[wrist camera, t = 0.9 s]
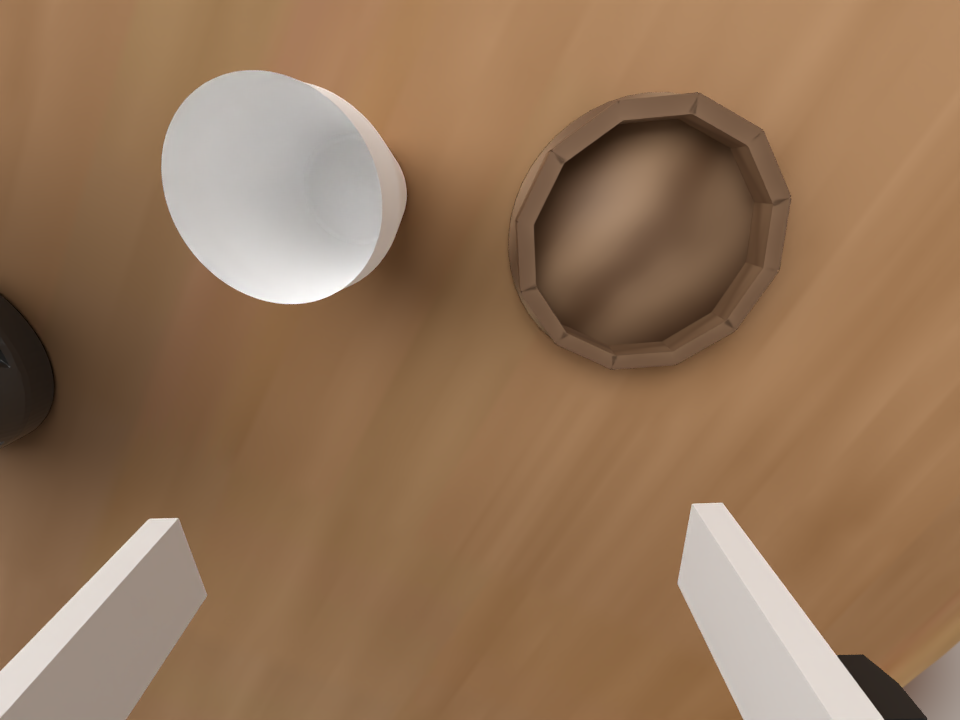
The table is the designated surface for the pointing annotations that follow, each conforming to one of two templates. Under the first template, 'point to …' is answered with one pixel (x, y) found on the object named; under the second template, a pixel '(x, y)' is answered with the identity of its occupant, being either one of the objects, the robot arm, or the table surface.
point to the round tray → (648, 229)
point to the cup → (280, 186)
